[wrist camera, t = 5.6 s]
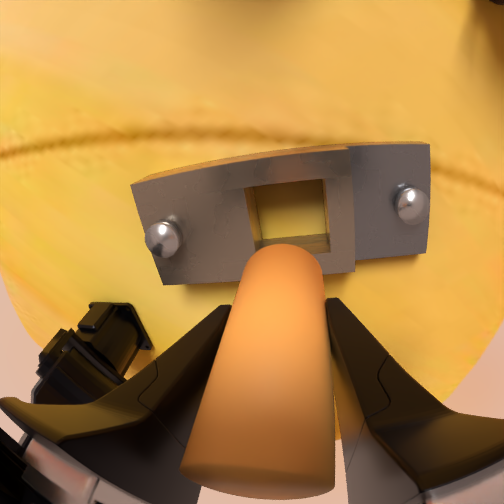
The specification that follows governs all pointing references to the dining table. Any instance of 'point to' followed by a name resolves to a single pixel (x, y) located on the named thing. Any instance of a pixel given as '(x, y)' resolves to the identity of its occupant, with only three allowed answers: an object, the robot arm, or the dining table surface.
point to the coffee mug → (498, 2)
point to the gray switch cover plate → (238, 213)
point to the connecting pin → (269, 387)
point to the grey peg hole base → (378, 199)
